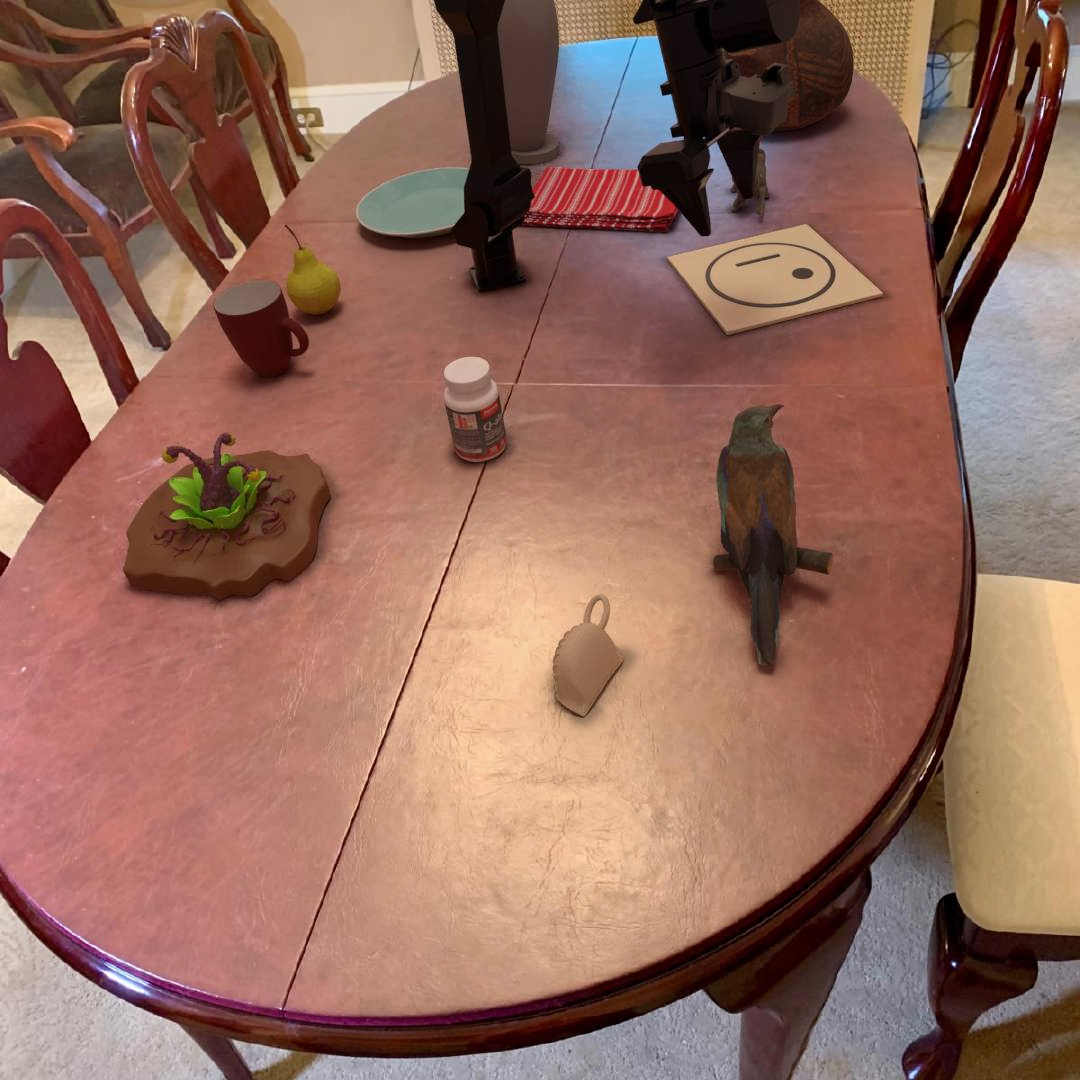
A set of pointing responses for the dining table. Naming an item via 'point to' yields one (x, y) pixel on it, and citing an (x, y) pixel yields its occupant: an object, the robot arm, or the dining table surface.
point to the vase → (529, 75)
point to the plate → (415, 203)
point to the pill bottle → (474, 410)
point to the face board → (771, 278)
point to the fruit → (311, 282)
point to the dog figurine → (759, 185)
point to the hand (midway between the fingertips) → (728, 216)
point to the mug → (260, 326)
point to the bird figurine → (761, 522)
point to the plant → (227, 523)
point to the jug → (807, 65)
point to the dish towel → (598, 201)
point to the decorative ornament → (585, 661)
